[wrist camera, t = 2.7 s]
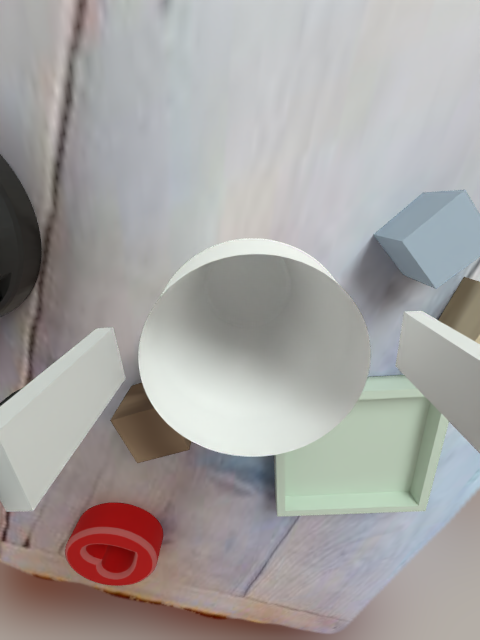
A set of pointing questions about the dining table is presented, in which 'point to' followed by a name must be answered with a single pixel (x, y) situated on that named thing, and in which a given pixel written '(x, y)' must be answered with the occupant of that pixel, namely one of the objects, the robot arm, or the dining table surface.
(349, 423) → the tray
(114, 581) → the decorative ornament
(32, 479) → the robot arm
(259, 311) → the cup
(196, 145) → the dining table surface
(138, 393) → the walnut block
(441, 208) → the slate blue block
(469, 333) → the oak block
